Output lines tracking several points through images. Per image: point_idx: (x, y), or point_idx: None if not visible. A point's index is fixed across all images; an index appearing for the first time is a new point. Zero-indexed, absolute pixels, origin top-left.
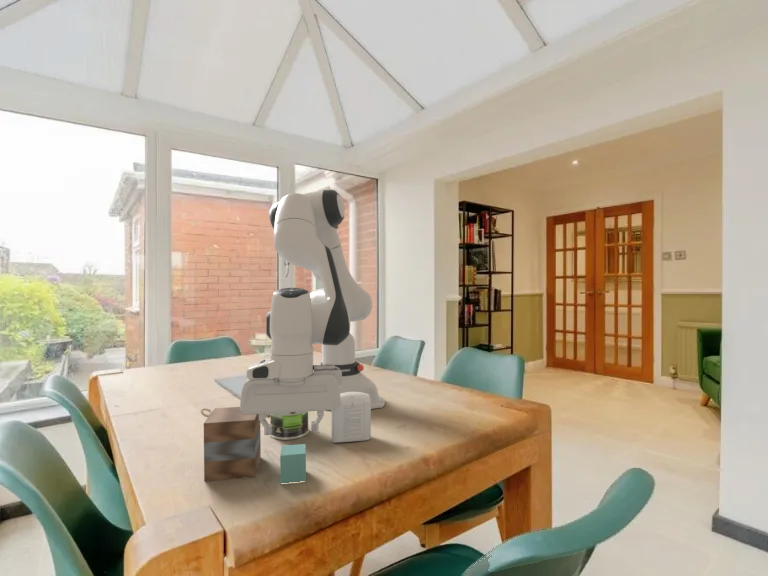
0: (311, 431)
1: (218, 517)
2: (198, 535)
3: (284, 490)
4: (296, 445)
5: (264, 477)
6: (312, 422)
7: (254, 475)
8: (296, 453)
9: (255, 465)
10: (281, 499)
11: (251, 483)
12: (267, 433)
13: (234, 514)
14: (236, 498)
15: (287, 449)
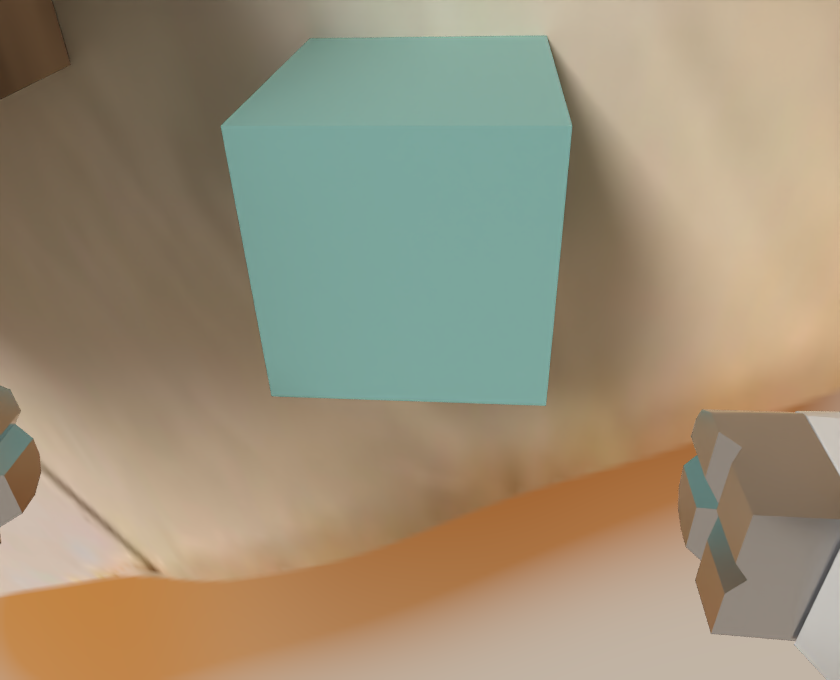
0: (679, 512)
1: (75, 492)
2: (60, 575)
3: None
4: (433, 161)
5: (162, 90)
6: (759, 566)
7: (59, 66)
8: (443, 385)
9: (6, 44)
10: (368, 417)
11: (91, 178)
12: None
13: (144, 487)
14: (79, 354)
15: (323, 263)
